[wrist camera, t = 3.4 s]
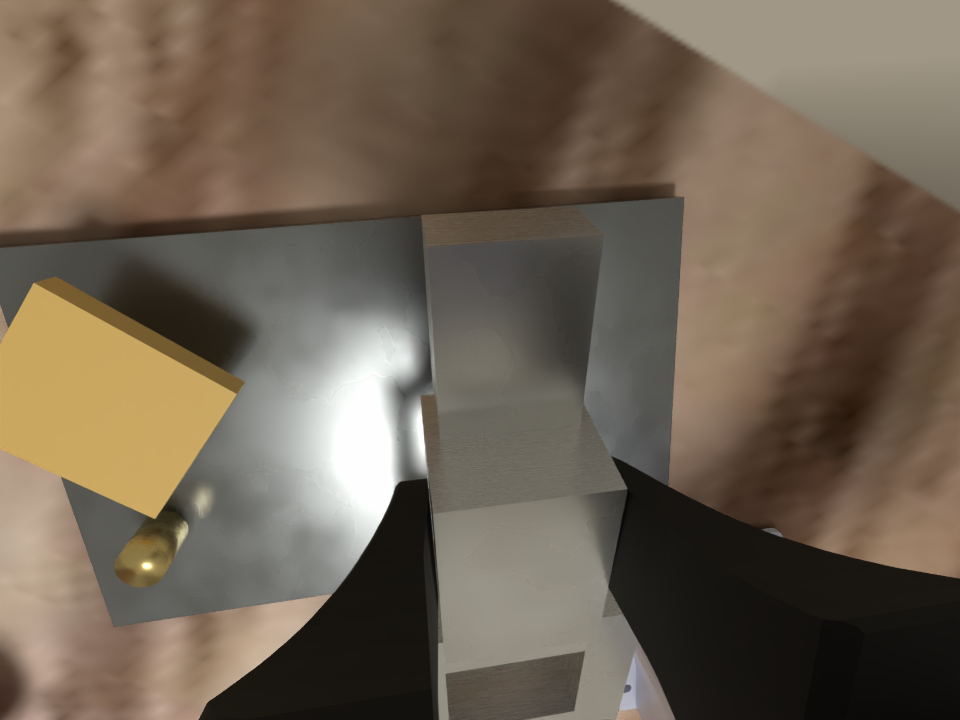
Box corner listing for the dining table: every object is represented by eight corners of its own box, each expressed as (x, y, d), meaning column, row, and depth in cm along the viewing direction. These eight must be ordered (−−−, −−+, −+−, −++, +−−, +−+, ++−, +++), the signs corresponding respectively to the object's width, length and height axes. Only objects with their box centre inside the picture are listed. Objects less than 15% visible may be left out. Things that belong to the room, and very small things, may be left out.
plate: (656, 532, 25) (664, 543, 24) (123, 611, 22) (113, 626, 22) (673, 196, 20) (684, 197, 20) (-2, 246, 18) (-19, 249, 17)
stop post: (192, 543, 21) (170, 583, 19) (148, 549, 21) (121, 590, 19) (182, 508, 21) (159, 544, 18) (137, 513, 20) (108, 551, 18)
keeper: (261, 360, 19) (236, 394, 16) (191, 468, 20) (155, 519, 17) (92, 262, 18) (29, 280, 14) (22, 385, 18) (-50, 426, 15)
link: (584, 632, 19) (620, 743, 16) (400, 660, 18) (404, 784, 16) (658, 201, 11) (760, 274, 8) (328, 220, 10) (309, 308, 7)
